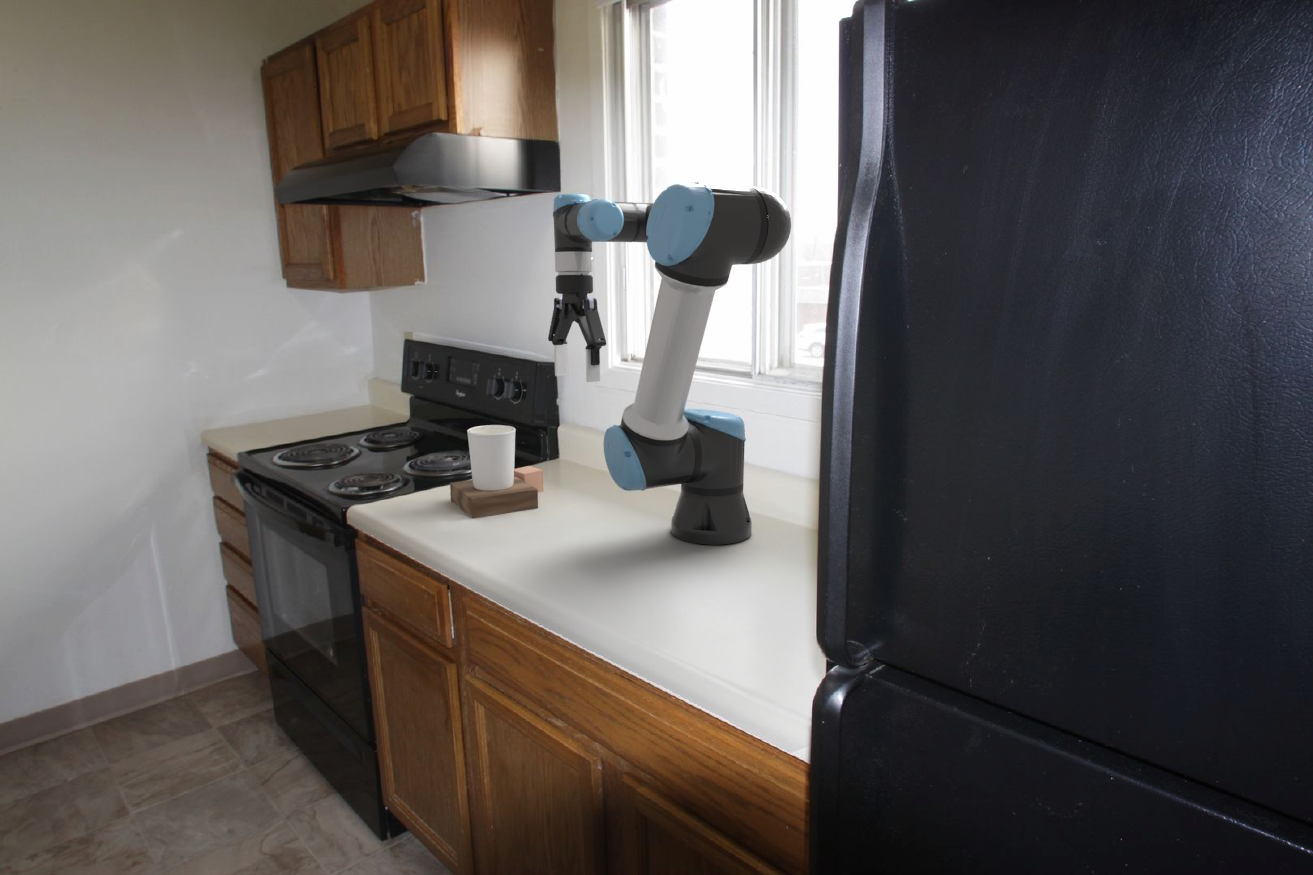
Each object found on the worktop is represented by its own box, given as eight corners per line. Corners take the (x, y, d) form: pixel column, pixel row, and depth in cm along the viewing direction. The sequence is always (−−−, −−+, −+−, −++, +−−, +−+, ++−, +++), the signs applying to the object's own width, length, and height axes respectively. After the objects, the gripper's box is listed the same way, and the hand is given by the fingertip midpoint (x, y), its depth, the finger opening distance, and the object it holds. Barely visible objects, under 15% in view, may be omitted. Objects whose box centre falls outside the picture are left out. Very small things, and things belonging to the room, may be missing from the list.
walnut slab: (538, 507, 170) (537, 489, 169) (472, 518, 163) (471, 498, 162) (513, 491, 182) (512, 474, 181) (450, 500, 174) (450, 482, 174)
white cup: (506, 493, 166) (504, 435, 163) (461, 490, 168) (458, 433, 165) (524, 481, 175) (522, 426, 173) (481, 478, 177) (479, 424, 175)
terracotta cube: (543, 491, 182) (542, 469, 181) (525, 496, 179) (524, 473, 178) (529, 487, 186) (529, 465, 185) (511, 491, 182) (510, 469, 181)
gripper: (622, 273, 158) (624, 382, 162) (561, 274, 178) (564, 372, 182) (588, 273, 154) (591, 385, 158) (530, 274, 174) (533, 374, 178)
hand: (576, 378), depth 170 cm, fingers open, 13 cm apart
